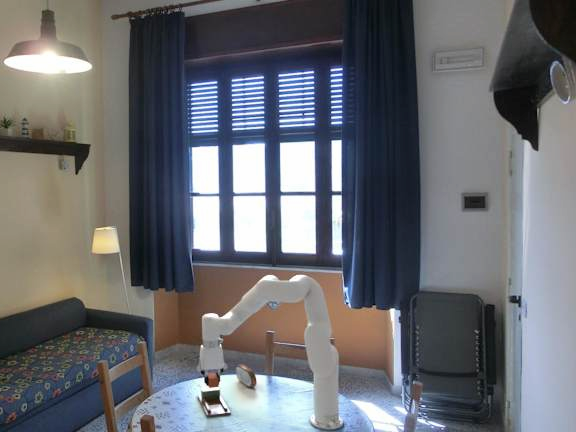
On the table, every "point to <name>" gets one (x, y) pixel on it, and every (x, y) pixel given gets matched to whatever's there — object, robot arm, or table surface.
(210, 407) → the cradle
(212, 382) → the block
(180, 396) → the table surface
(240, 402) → the table surface
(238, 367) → the tin
